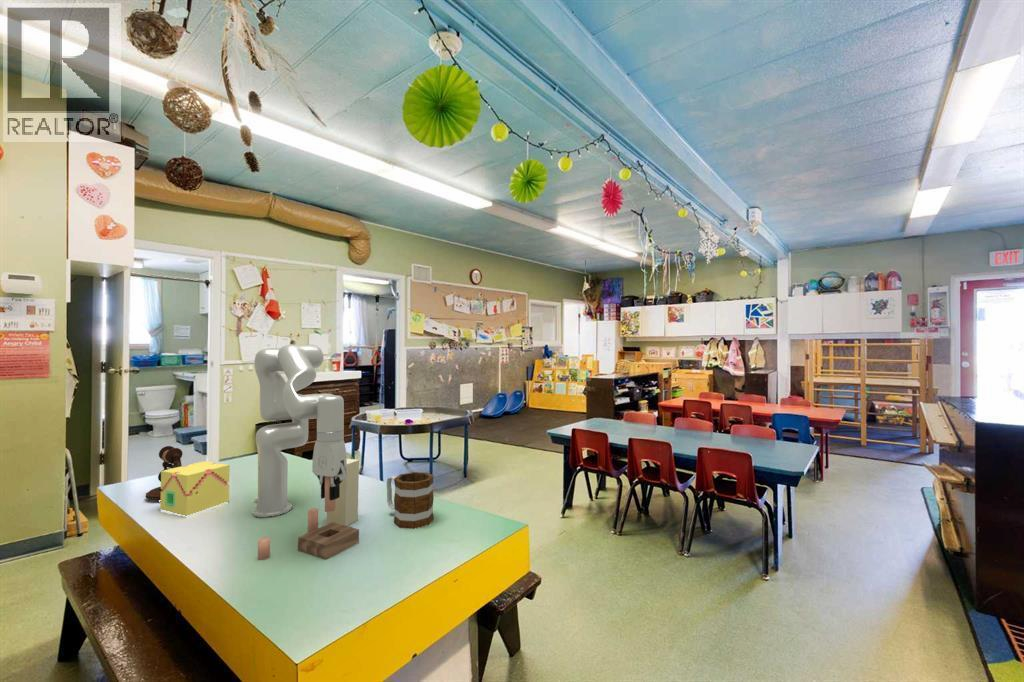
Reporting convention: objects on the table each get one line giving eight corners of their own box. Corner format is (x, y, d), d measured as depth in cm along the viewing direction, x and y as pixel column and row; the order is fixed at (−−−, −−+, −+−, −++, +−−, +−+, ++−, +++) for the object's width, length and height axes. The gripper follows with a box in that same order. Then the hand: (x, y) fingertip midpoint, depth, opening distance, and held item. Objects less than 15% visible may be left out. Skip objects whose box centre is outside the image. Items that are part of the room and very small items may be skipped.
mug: (441, 518, 149) (441, 475, 149) (414, 532, 137) (414, 485, 137) (401, 507, 159) (401, 467, 159) (372, 520, 147) (373, 476, 147)
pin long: (322, 510, 126) (322, 470, 126) (330, 507, 129) (330, 468, 129) (329, 512, 125) (329, 471, 125) (337, 509, 127) (337, 469, 128)
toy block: (160, 512, 154) (161, 471, 154) (203, 499, 168) (204, 461, 168) (186, 518, 148) (187, 475, 149) (228, 504, 162) (229, 465, 163)
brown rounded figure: (198, 494, 172) (199, 445, 173) (153, 506, 160) (155, 453, 161) (183, 488, 180) (184, 441, 181) (139, 498, 168) (140, 448, 168)
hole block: (297, 550, 124) (297, 536, 124) (331, 534, 135) (331, 522, 135) (325, 559, 119) (326, 545, 119) (358, 542, 129) (359, 529, 130)
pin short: (255, 558, 120) (255, 540, 120) (265, 553, 122) (266, 536, 122) (262, 560, 118) (262, 542, 118) (272, 556, 121) (272, 538, 121)
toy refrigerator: (360, 519, 147) (360, 459, 148) (345, 527, 140) (345, 464, 141) (341, 516, 150) (342, 457, 150) (326, 524, 143) (326, 462, 144)
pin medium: (305, 536, 134) (306, 510, 134) (313, 532, 136) (314, 507, 137) (312, 538, 132) (312, 512, 133) (320, 534, 135) (320, 509, 135)
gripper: (301, 436, 128) (301, 498, 127) (339, 441, 121) (339, 506, 120) (322, 432, 135) (322, 491, 134) (359, 436, 127) (359, 498, 127)
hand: (330, 497), depth 127 cm, fingers closed on pin long, 3 cm apart
